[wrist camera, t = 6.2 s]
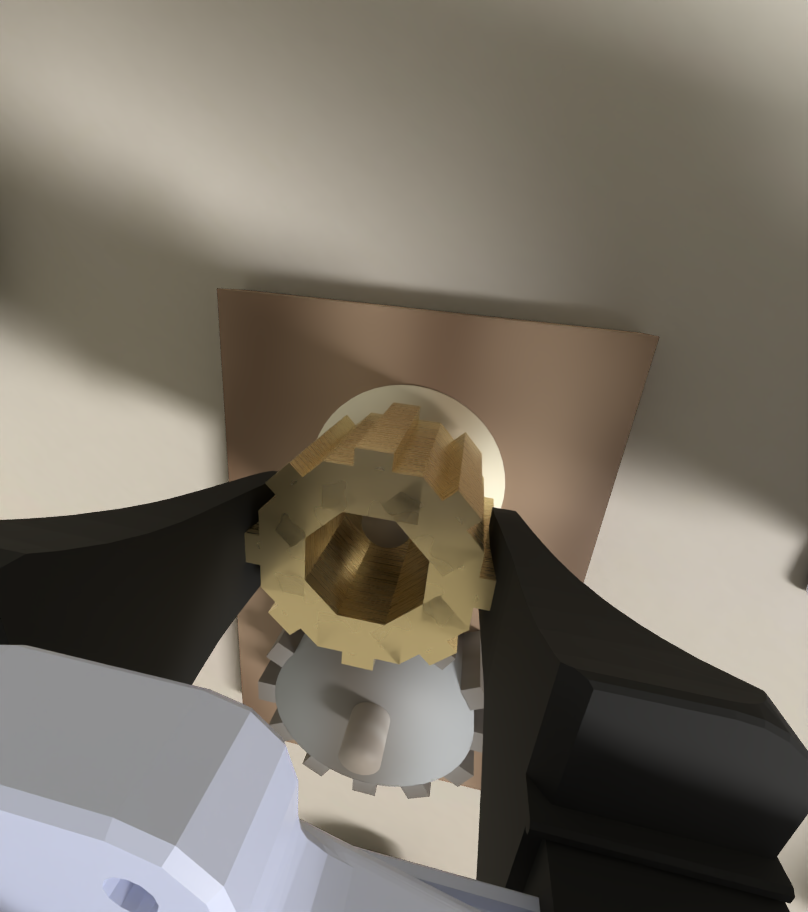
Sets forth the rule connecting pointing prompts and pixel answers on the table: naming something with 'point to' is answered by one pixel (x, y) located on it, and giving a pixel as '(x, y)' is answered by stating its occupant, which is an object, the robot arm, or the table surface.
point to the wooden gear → (368, 565)
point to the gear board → (505, 480)
